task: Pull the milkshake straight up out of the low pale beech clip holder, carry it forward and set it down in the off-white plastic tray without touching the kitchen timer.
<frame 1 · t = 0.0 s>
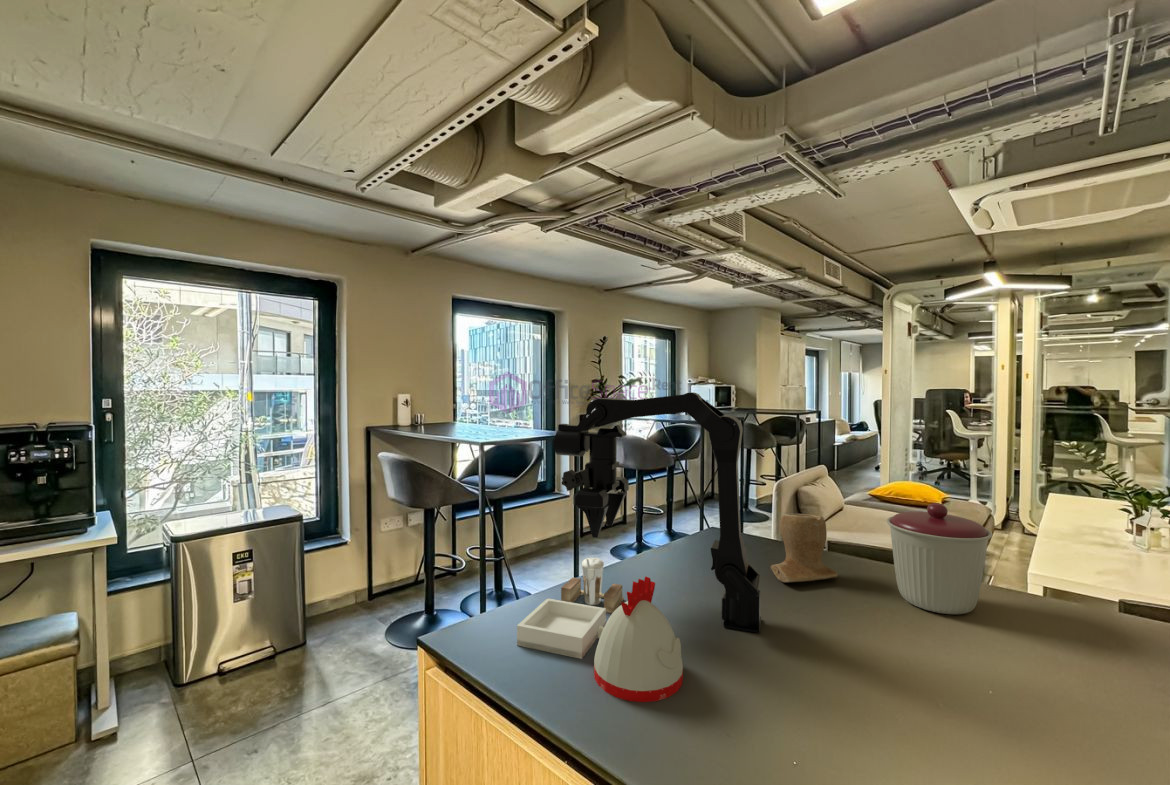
hand: (602, 531, 108), 15 cm above the worktop, tool pointing down, fingers open, 9 cm apart
kitchen timer: (638, 676, 81), on the worktop
clip holder: (591, 602, 107), on the worktop
canister: (935, 605, 107), on the worktop
tray: (563, 635, 93), on the worktop
tan upright piece: (800, 577, 122), on the worktop
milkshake: (591, 603, 107), on the worktop
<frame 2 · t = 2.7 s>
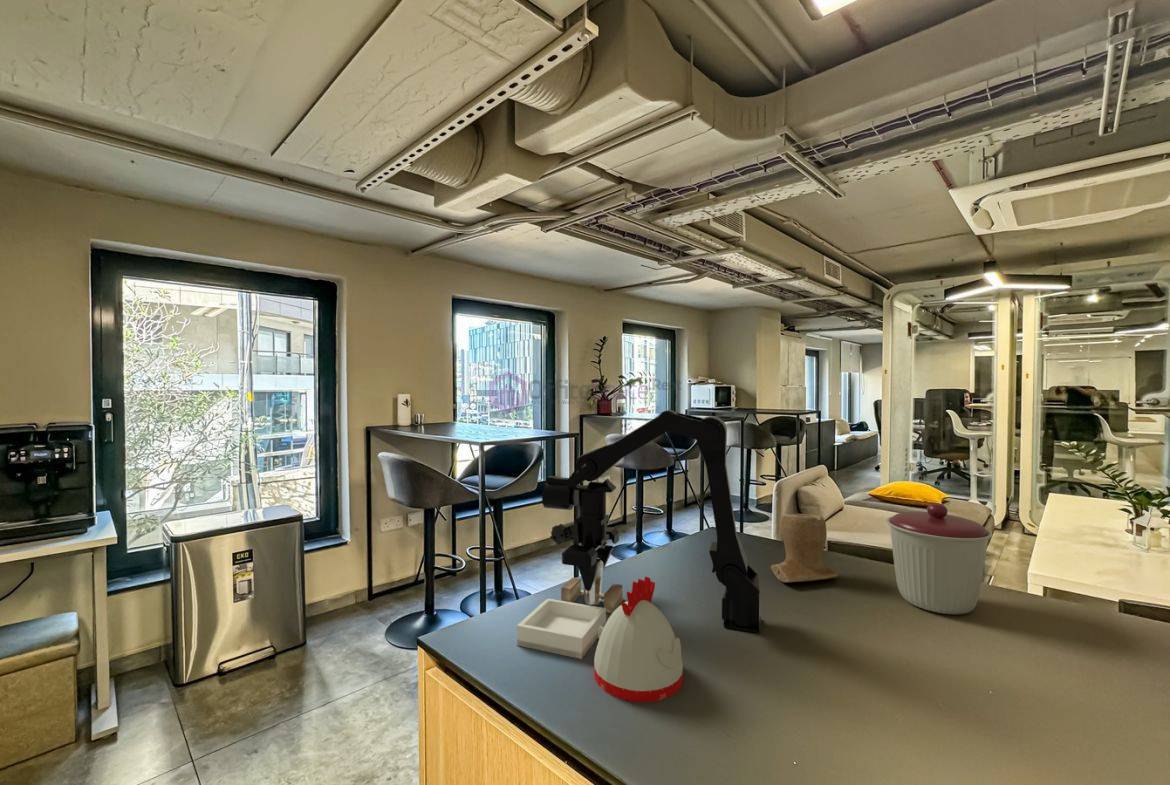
hand: (592, 585, 107), 4 cm above the worktop, tool pointing down, fingers closed on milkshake, 4 cm apart
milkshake: (591, 603, 107), on the worktop, touching gripper
everything else where it was.
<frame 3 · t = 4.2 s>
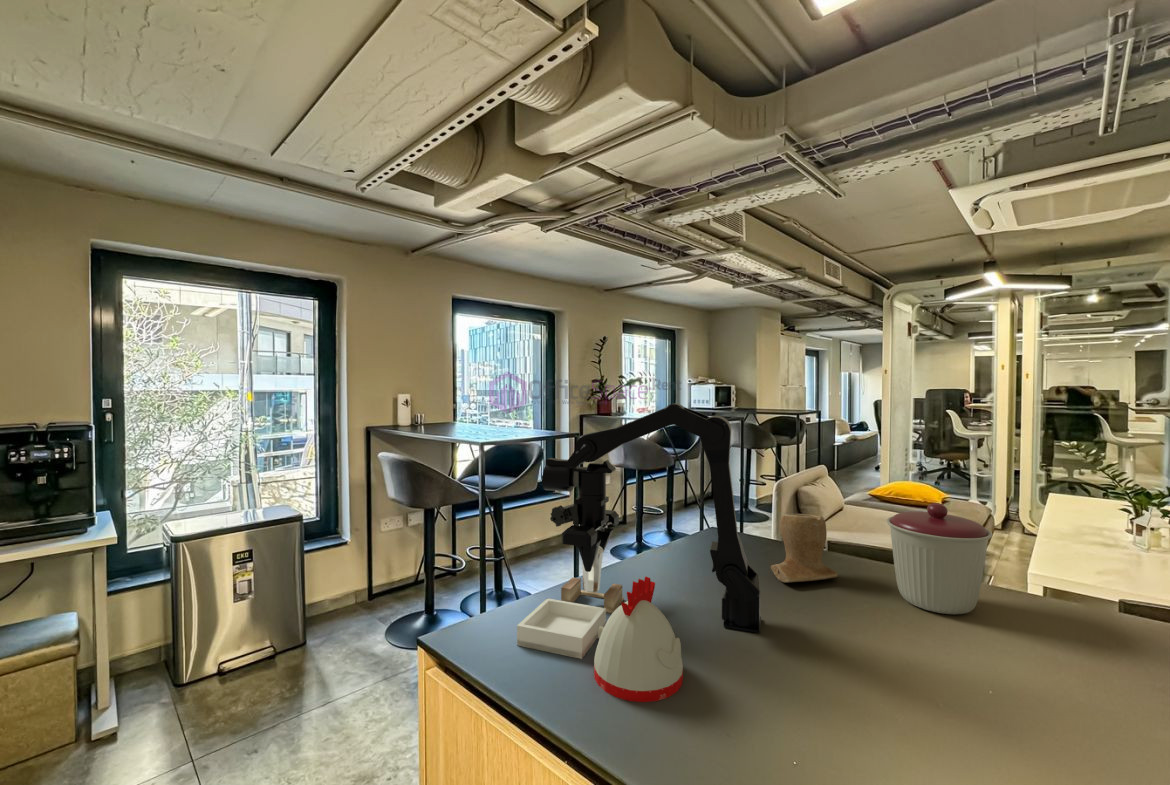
hand: (592, 567, 107), 7 cm above the worktop, tool pointing down, fingers closed on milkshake, 4 cm apart
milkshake: (590, 591, 106), point 3 cm above the worktop, touching gripper
everything else where it was.
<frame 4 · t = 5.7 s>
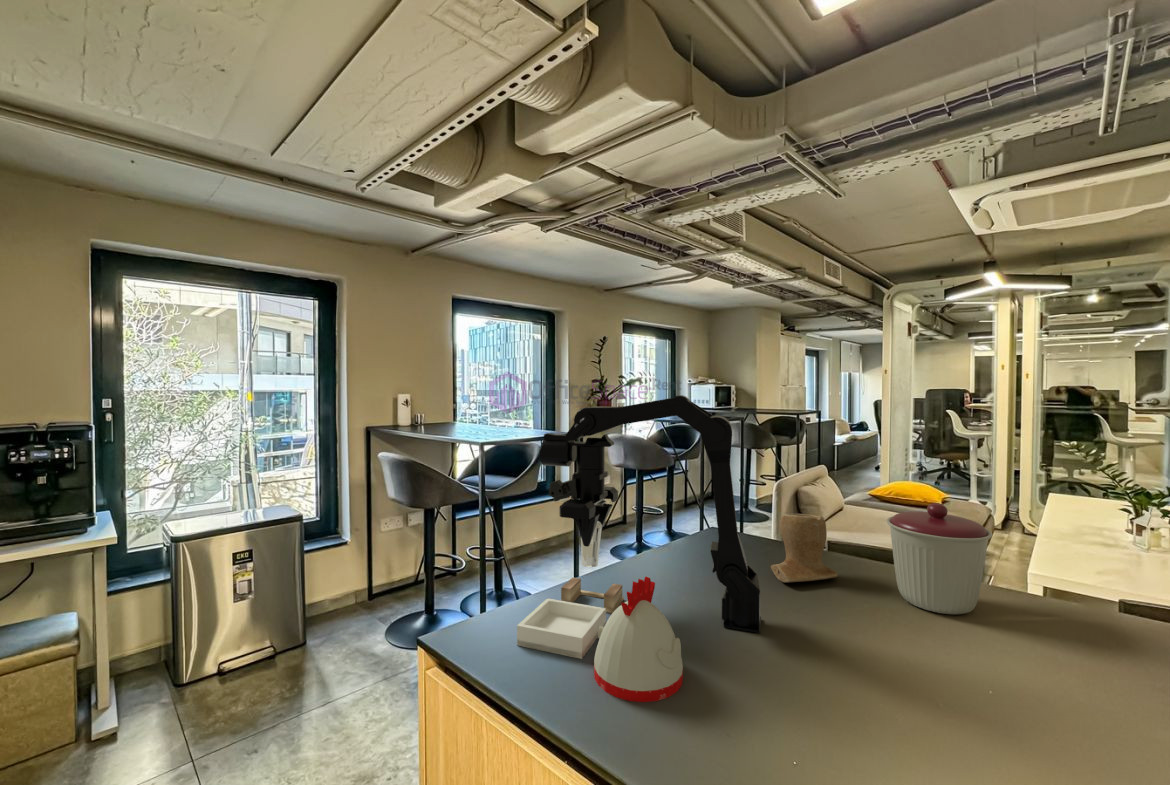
hand: (590, 542, 106), 13 cm above the worktop, tool pointing down, fingers closed on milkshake, 4 cm apart
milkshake: (588, 566, 105), point 8 cm above the worktop, touching gripper
everything else where it was.
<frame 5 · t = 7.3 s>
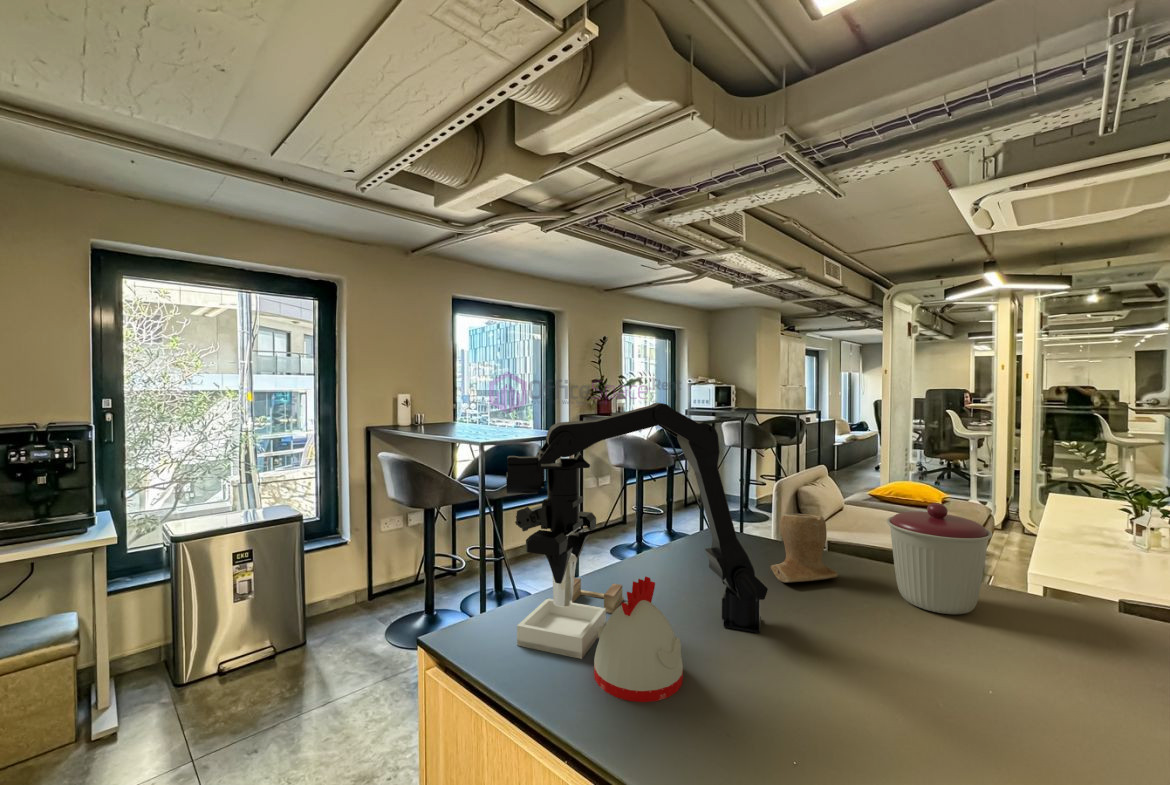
hand: (563, 578, 93), 10 cm above the worktop, tool pointing down, fingers closed on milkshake, 4 cm apart
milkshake: (561, 606, 92), point 6 cm above the worktop, touching gripper
everything else where it was.
when the fingers open (6 cm above the worktop, at t = 8.8 s): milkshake stays where it is, resting on tray.
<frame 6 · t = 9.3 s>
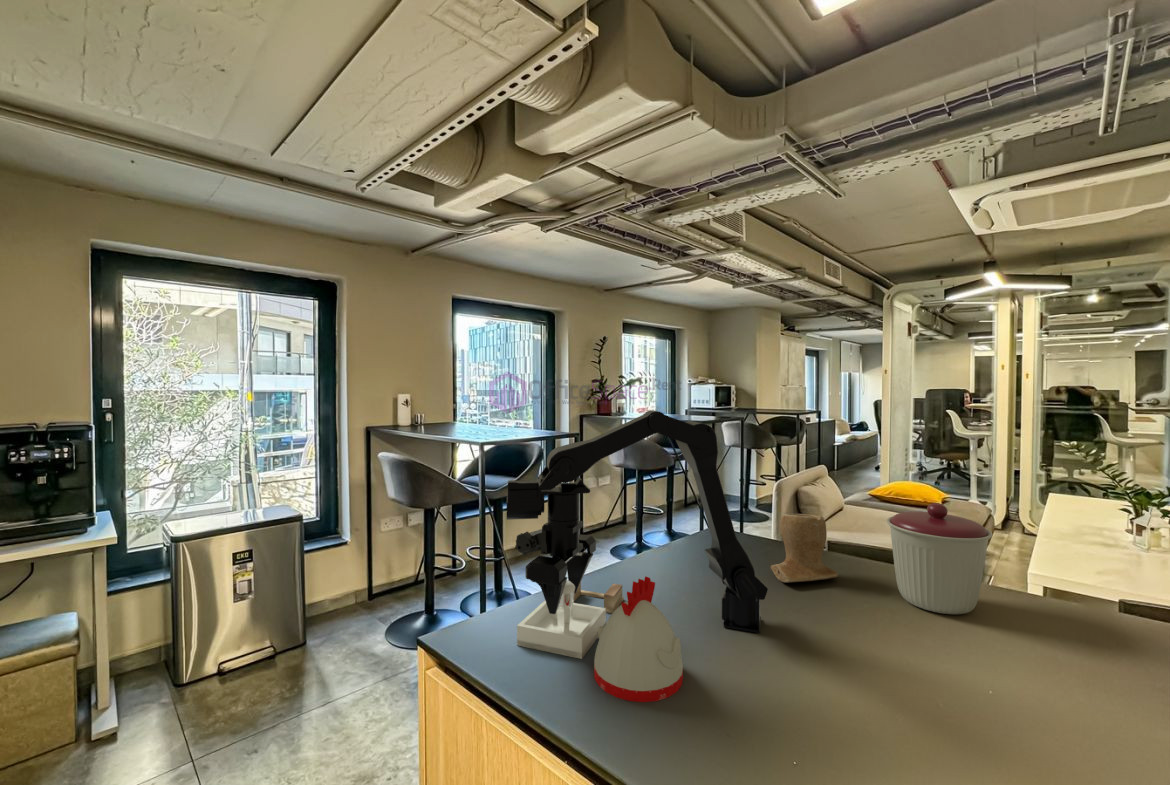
hand: (563, 602, 93), 6 cm above the worktop, tool pointing down, fingers open, 9 cm apart
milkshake: (561, 634, 92), point 1 cm above the worktop, touching tray
everything else where it was.
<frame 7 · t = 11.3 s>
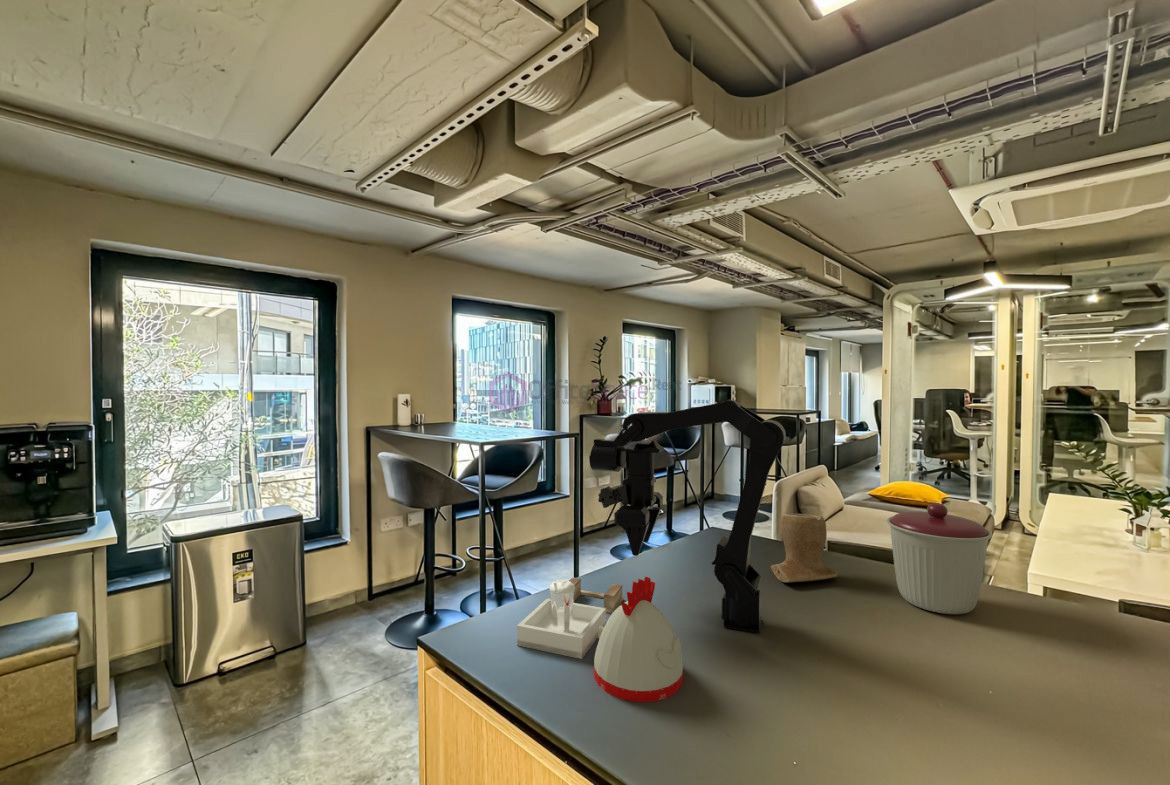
hand: (640, 548, 106), 12 cm above the worktop, tool pointing down, fingers open, 9 cm apart
nothing on the worktop moved.
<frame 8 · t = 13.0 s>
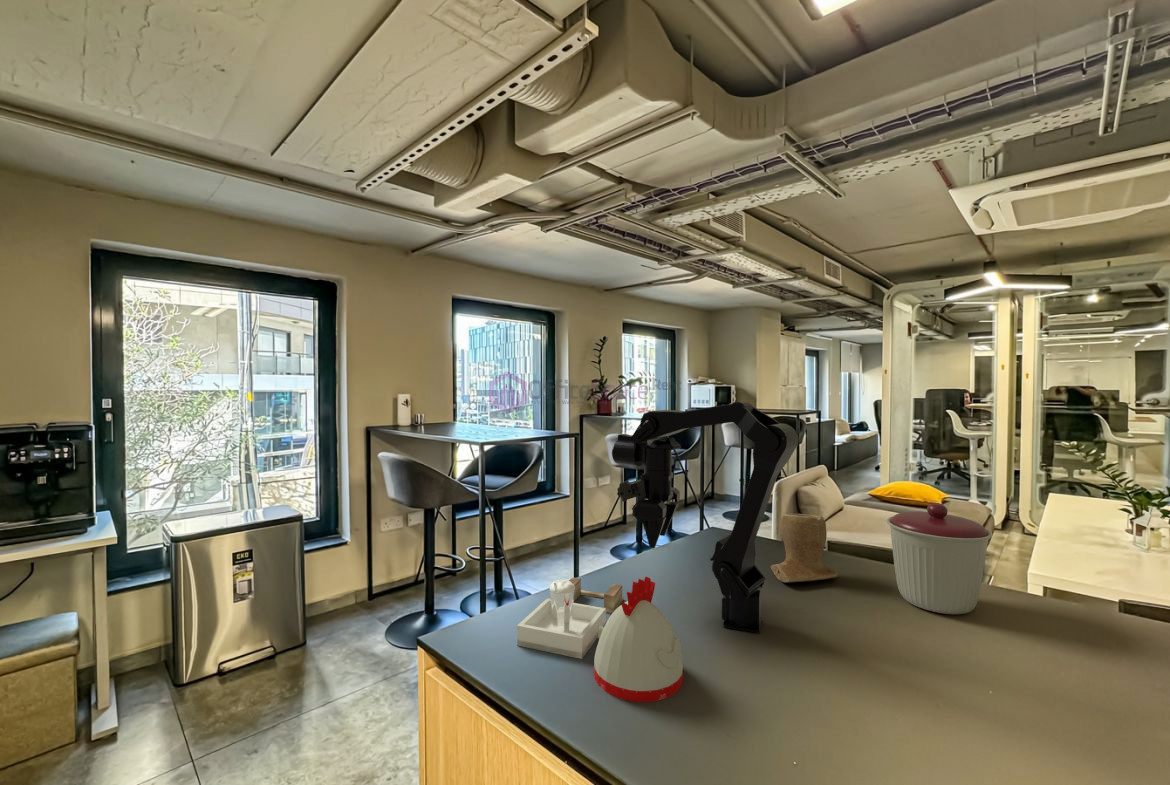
hand: (657, 541, 110), 12 cm above the worktop, tool pointing down, fingers open, 9 cm apart
nothing on the worktop moved.
at the end: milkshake inside the target area on the tray (1.1 cm from its centre), point 0.8 cm above the tray's base; the gripper is holding nothing; kitchen timer moved 0.3 cm from its start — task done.
